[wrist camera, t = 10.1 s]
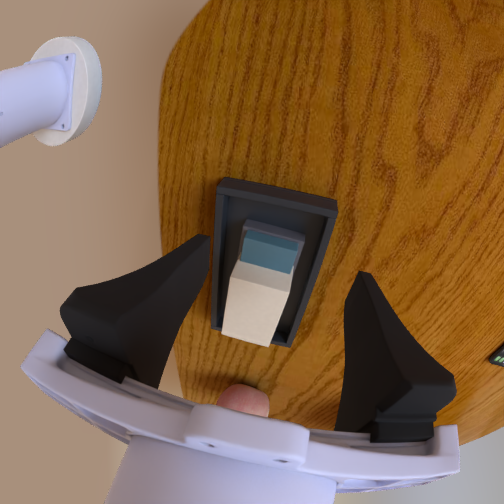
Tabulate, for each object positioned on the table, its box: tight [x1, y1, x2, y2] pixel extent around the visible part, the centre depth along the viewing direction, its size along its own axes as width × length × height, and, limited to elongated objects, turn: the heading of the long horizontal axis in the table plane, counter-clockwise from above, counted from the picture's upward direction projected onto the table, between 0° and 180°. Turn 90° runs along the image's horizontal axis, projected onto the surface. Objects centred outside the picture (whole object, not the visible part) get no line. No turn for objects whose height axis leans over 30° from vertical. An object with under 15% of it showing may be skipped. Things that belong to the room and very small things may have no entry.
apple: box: [216, 384, 269, 417], centre depth 36 cm, size 8×8×8 cm
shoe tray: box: [211, 177, 338, 348], centre depth 24 cm, size 16×9×2 cm, turn 173°
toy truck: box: [221, 219, 305, 347], centre depth 23 cm, size 10×5×4 cm, turn 170°
